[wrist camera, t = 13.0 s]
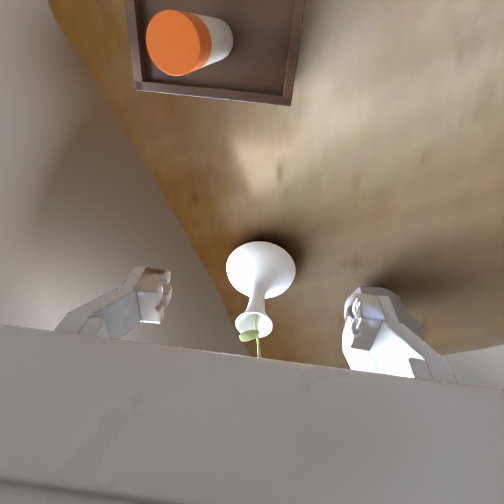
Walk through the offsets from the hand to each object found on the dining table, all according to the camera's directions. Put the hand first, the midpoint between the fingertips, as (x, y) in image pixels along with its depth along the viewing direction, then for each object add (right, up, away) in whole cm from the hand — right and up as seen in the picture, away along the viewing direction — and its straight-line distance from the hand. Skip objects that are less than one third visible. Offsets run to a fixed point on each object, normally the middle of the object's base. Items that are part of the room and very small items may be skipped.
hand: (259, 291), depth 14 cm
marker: (-3, +20, +13) cm, 24 cm away
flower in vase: (+1, -1, +41) cm, 41 cm away
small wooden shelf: (-2, +26, +22) cm, 35 cm away
